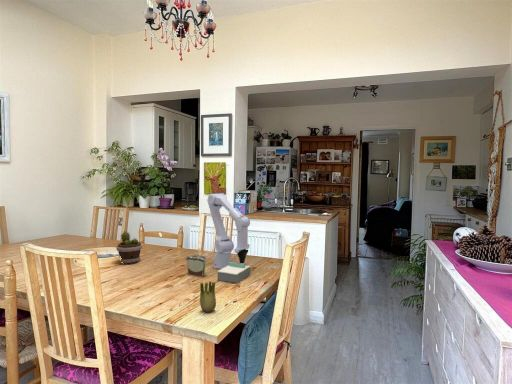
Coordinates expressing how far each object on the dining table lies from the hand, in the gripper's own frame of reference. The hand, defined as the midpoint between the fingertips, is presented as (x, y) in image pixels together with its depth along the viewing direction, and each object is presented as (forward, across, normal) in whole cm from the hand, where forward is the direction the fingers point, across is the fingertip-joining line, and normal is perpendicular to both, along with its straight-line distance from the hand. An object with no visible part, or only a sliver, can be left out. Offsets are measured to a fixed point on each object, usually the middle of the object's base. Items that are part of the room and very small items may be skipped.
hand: (242, 262), depth 179 cm
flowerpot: (+6, -12, +71) cm, 72 cm away
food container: (+6, -13, +20) cm, 25 cm away
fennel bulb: (+6, -50, -10) cm, 51 cm away
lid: (+1, -9, 0) cm, 9 cm away
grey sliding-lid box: (+6, -9, 0) cm, 11 cm away
